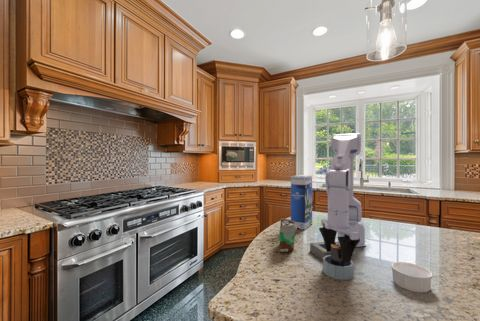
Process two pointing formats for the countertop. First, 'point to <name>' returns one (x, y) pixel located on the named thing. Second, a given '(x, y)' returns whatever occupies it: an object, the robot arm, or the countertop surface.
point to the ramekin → (412, 276)
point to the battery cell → (336, 254)
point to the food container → (287, 236)
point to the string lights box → (301, 200)
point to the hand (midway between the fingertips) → (337, 256)
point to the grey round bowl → (338, 269)
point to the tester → (319, 249)
